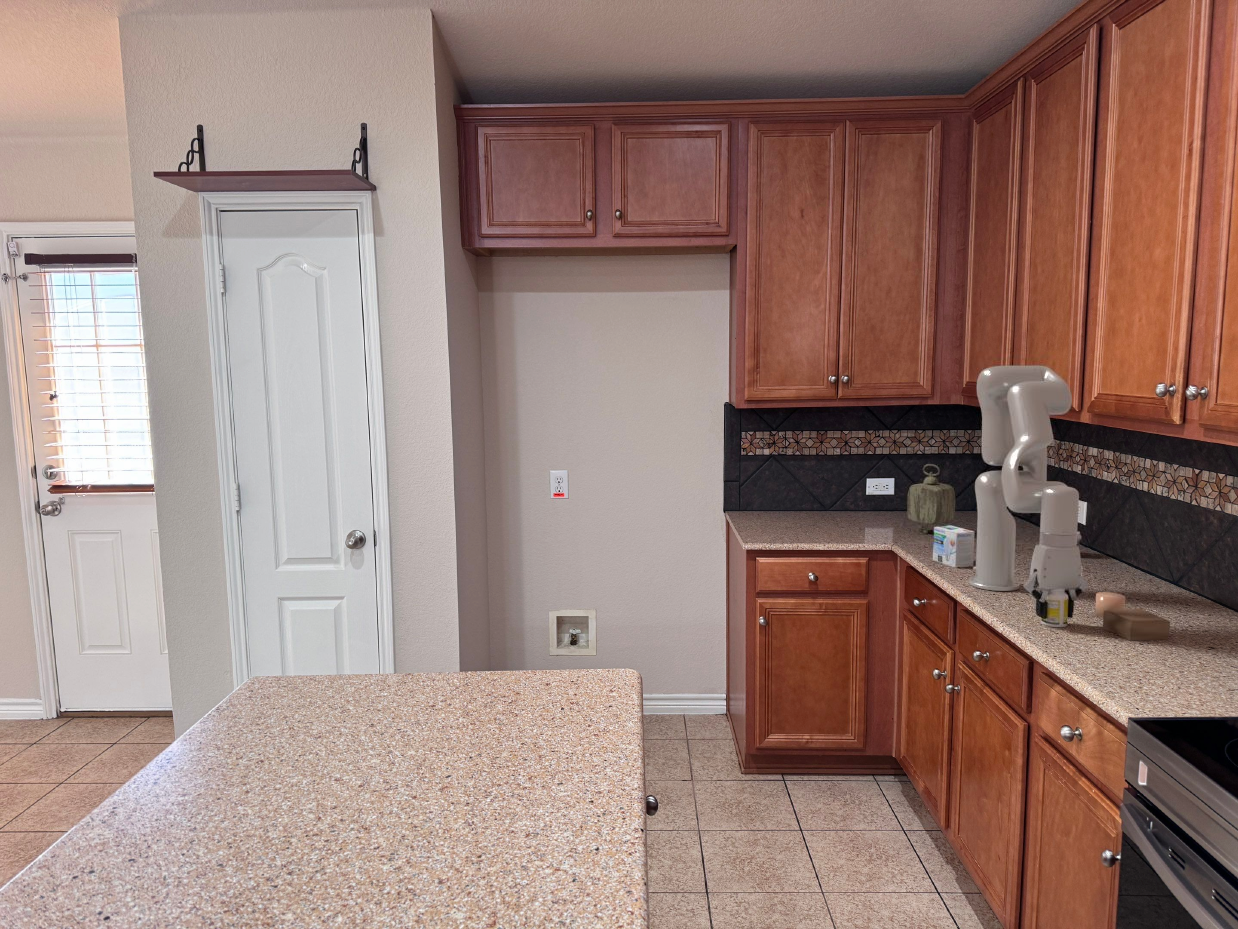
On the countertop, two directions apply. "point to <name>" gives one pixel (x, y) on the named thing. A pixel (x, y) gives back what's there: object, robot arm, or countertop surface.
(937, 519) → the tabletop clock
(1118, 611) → the brown square block
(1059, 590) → the supplement bottle
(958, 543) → the light bulb box
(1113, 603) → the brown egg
